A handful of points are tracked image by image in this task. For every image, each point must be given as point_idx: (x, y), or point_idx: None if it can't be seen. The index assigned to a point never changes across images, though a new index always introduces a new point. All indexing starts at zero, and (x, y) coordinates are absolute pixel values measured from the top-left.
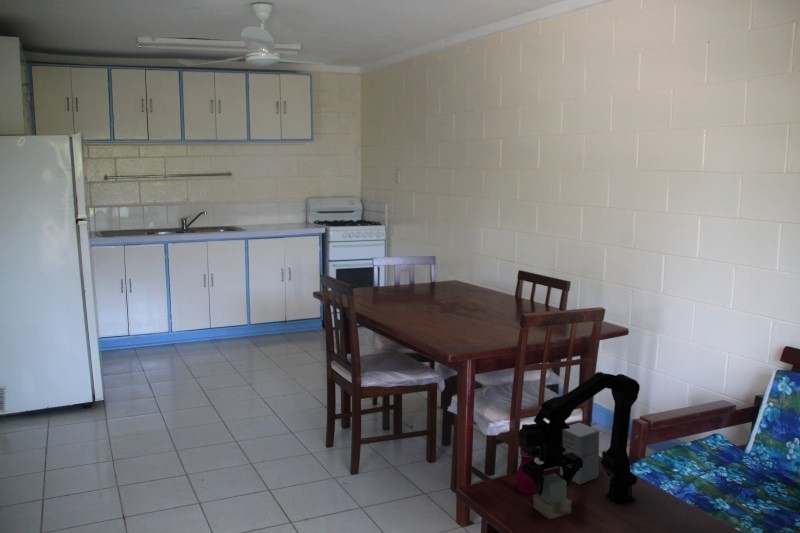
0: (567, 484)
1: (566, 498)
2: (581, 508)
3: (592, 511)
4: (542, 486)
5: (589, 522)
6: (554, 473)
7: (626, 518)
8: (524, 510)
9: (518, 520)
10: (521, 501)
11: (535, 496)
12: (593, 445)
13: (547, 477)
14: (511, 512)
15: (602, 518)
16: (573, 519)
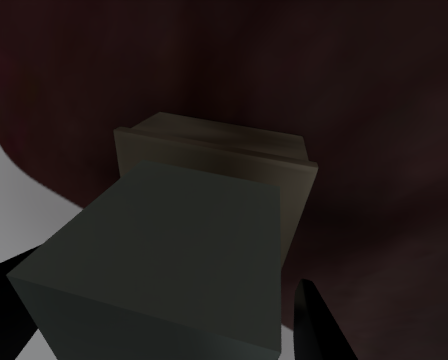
0: (298, 355)
1: None
2: (346, 247)
3: (357, 281)
4: (20, 340)
5: None
6: (278, 352)
7: (398, 354)
8: (103, 108)
9: (50, 156)
10: (131, 6)
11: (121, 156)
12: None
13: (114, 336)
14: (37, 85)
15: (334, 315)
16: None
